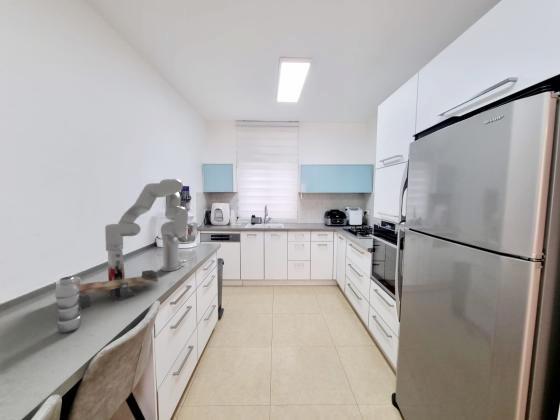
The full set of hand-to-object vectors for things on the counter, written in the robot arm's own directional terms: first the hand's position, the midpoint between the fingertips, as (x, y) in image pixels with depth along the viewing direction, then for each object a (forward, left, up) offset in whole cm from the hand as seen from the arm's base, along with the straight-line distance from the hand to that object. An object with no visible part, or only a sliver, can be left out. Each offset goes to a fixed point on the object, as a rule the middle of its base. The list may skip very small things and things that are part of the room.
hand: (115, 277), depth 118 cm
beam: (+2, +14, +1) cm, 14 cm away
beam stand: (+7, +14, -5) cm, 16 cm away
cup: (+18, +1, -5) cm, 18 cm away
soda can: (0, 0, -5) cm, 5 cm away
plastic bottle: (+23, +32, -5) cm, 39 cm away
